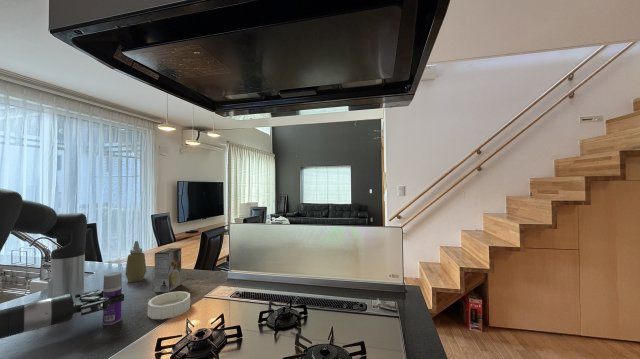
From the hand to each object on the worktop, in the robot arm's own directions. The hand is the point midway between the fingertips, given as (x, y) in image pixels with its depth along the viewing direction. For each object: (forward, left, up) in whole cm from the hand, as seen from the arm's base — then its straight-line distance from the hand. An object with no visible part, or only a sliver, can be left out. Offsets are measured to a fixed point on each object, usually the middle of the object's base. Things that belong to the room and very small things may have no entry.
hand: (120, 293), depth 86 cm
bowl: (+14, 0, -8) cm, 16 cm away
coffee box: (+11, +24, -8) cm, 28 cm away
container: (-2, -1, -8) cm, 8 cm away
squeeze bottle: (-4, +42, -8) cm, 43 cm away
